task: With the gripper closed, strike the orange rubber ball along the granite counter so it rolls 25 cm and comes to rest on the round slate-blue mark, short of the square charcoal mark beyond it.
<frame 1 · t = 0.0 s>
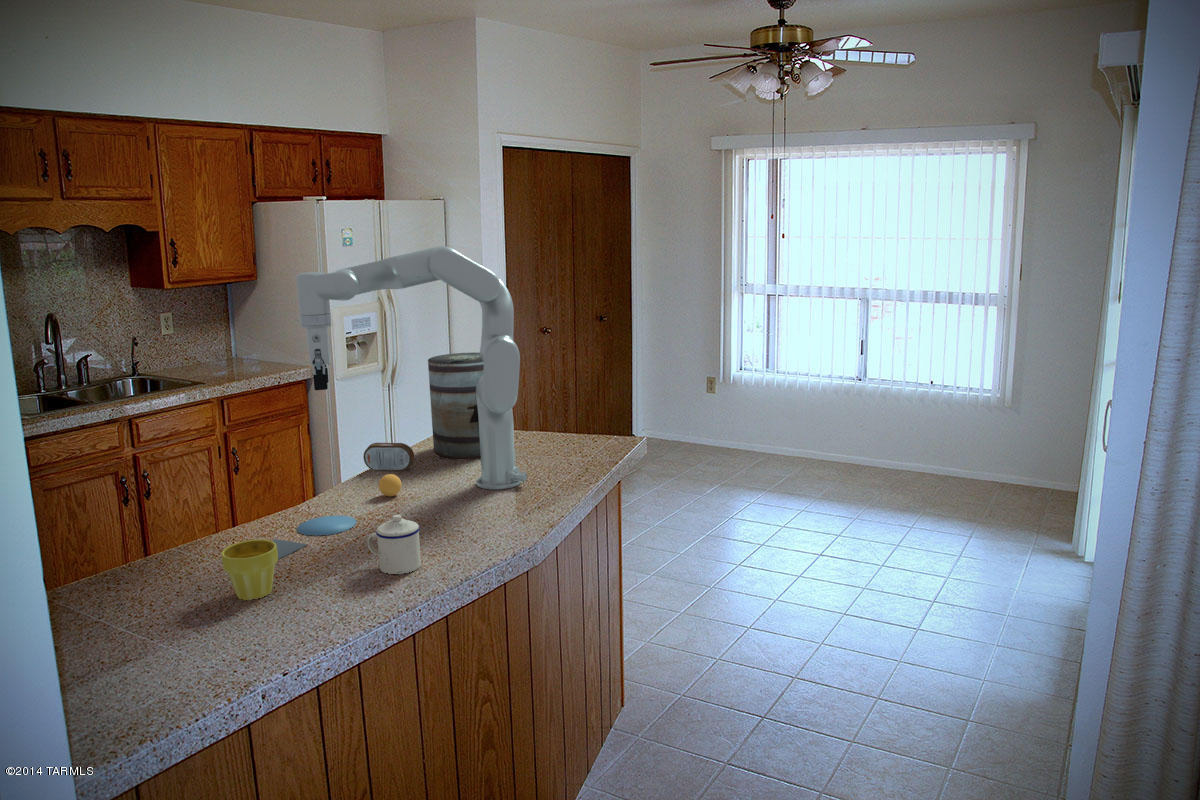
hand: (321, 386, 230), 31 cm above the worktop, tool pointing down, fingers open, 9 cm apart
teacup with lid: (394, 567, 190), on the worktop
tin: (389, 471, 263), on the worktop
ball: (390, 485, 238), on the worktop
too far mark: (291, 542, 206), on the worktop
plant pot: (254, 594, 178), on the worktop
barrel: (469, 450, 284), on the worktop
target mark: (327, 525, 217), on the worktop
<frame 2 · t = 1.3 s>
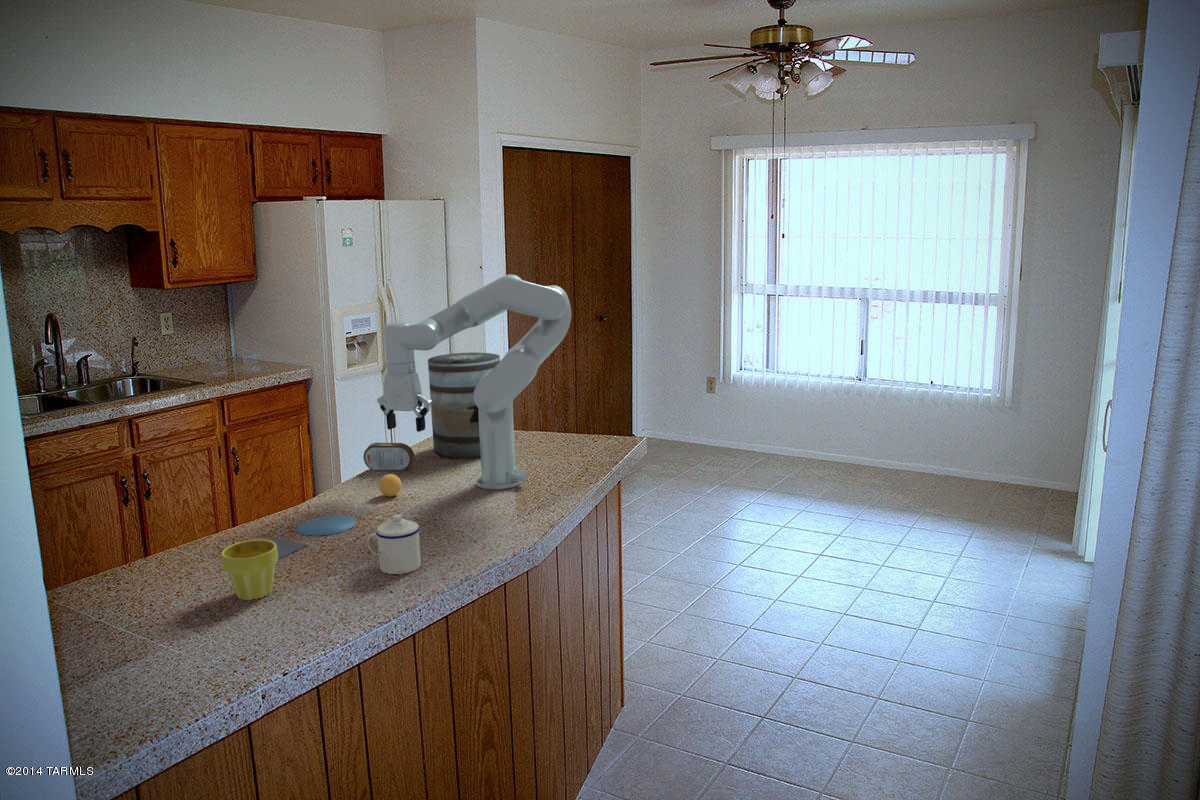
hand: (406, 429, 244), 16 cm above the worktop, tool pointing down, fingers open, 9 cm apart
nothing on the worktop moved.
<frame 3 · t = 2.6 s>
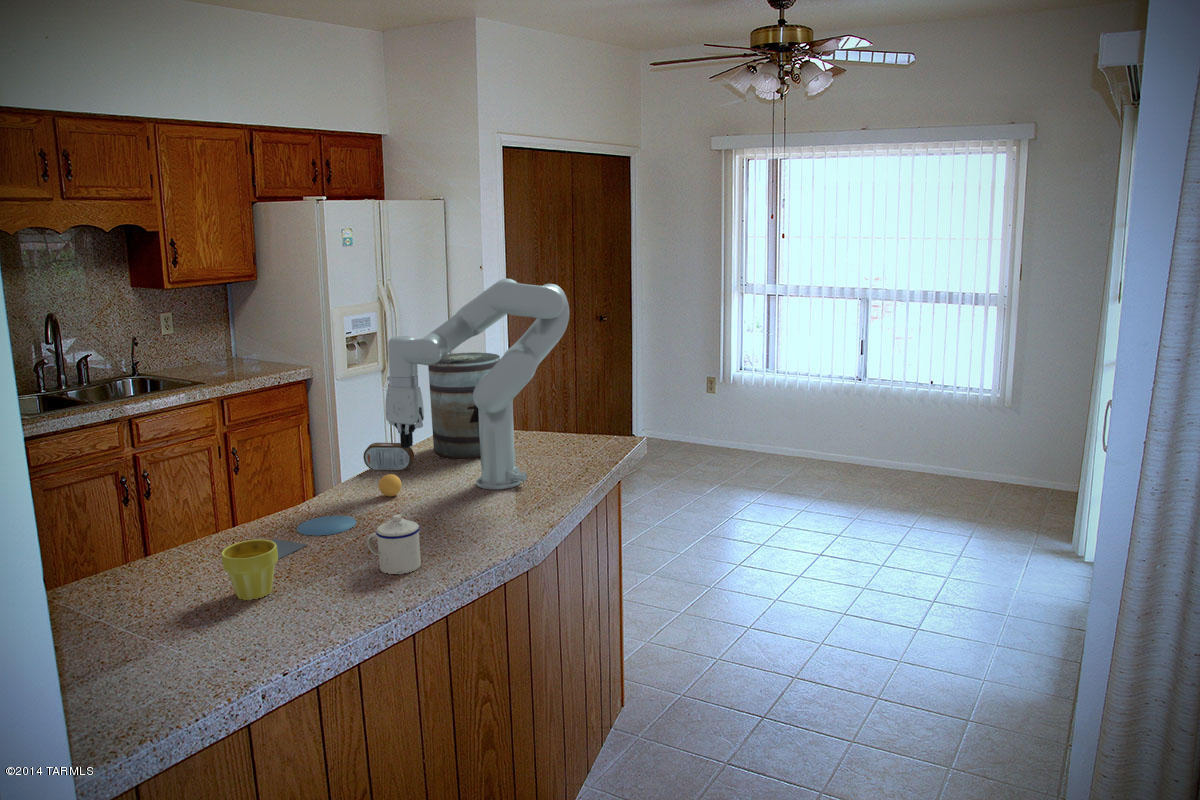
hand: (406, 446, 245), 11 cm above the worktop, tool pointing down, fingers closed
nothing on the worktop moved.
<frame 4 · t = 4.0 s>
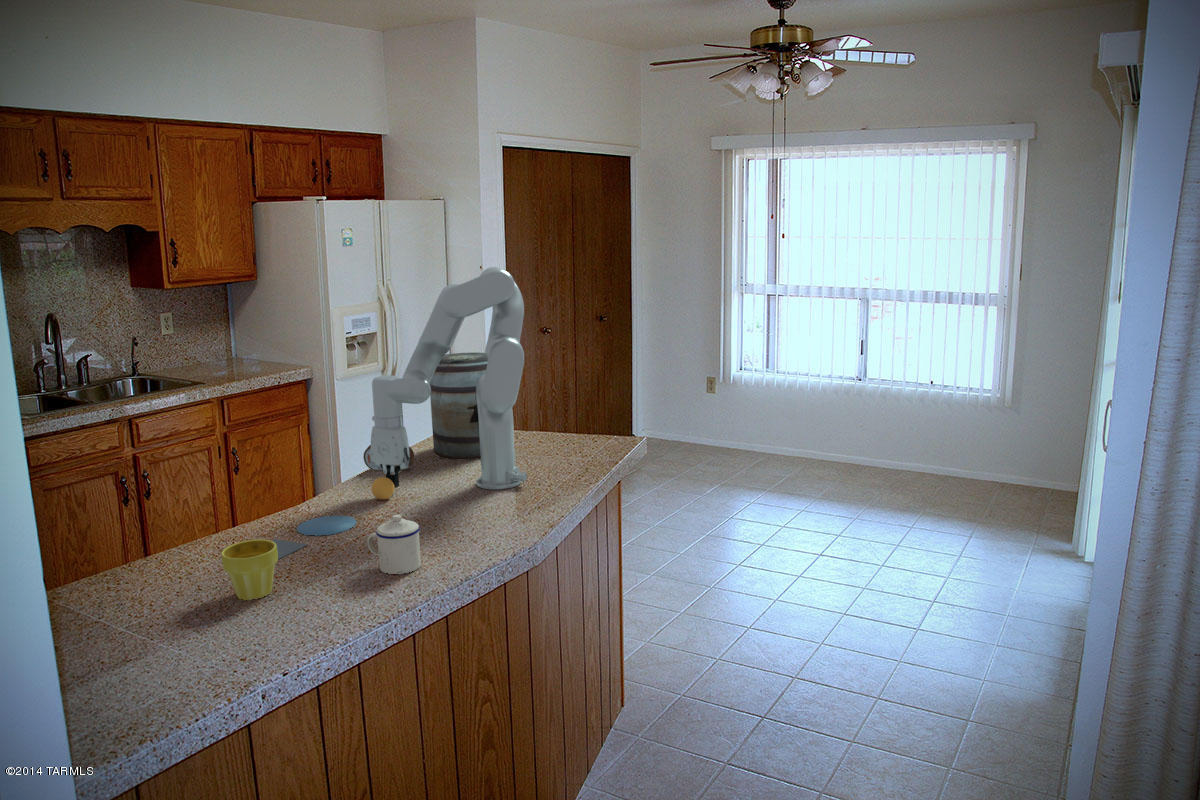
hand: (393, 487, 240), 2 cm above the worktop, tool pointing down, fingers closed
ball: (382, 488, 236), on the worktop
everything else where it was.
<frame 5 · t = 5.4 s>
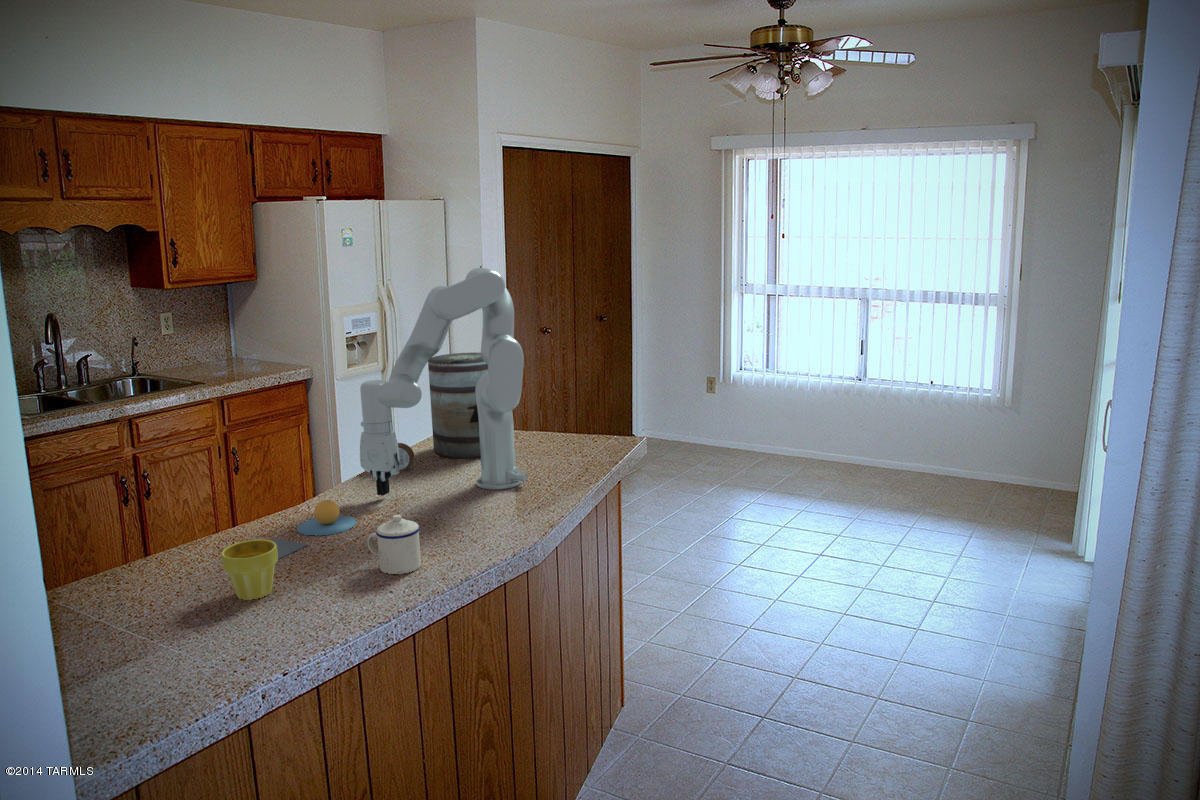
hand: (383, 493, 236), 2 cm above the worktop, tool pointing down, fingers closed
ball: (326, 512, 218), on the worktop
everything else where it was.
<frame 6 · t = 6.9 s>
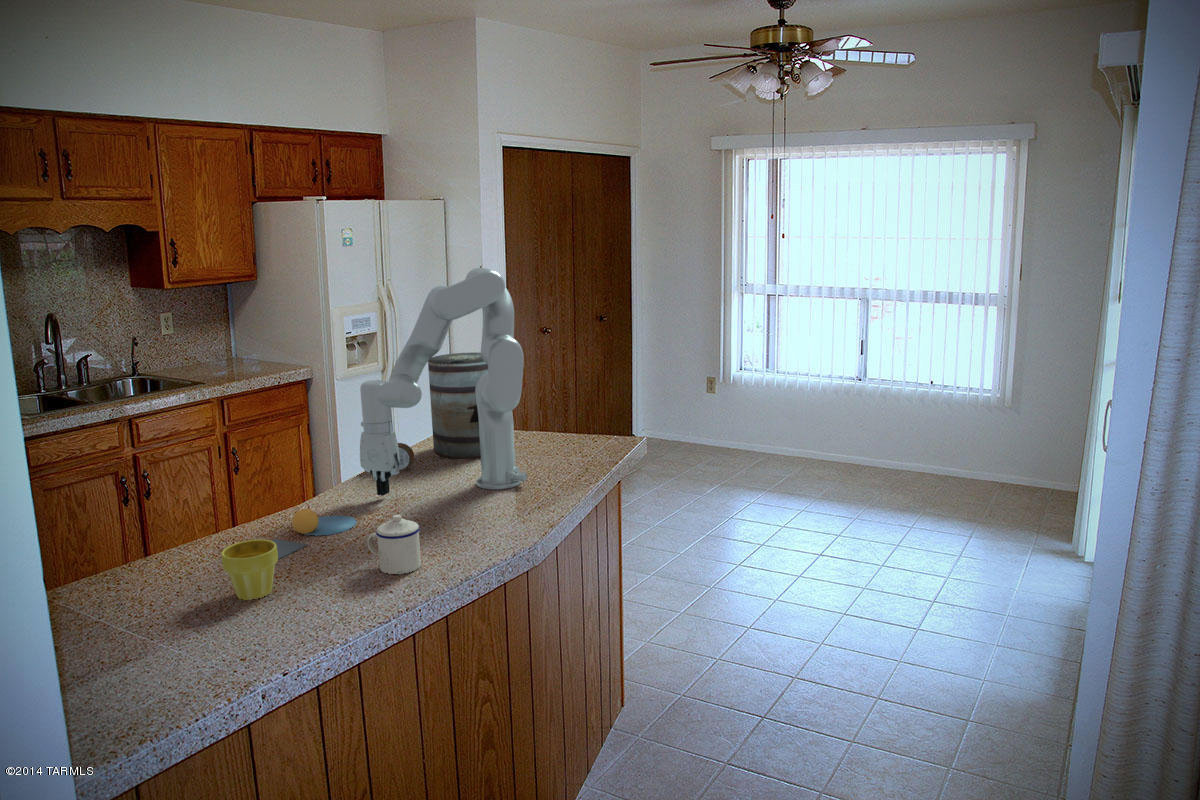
hand: (383, 493, 236), 2 cm above the worktop, tool pointing down, fingers closed
ball: (305, 521, 211), on the worktop
everything else where it was.
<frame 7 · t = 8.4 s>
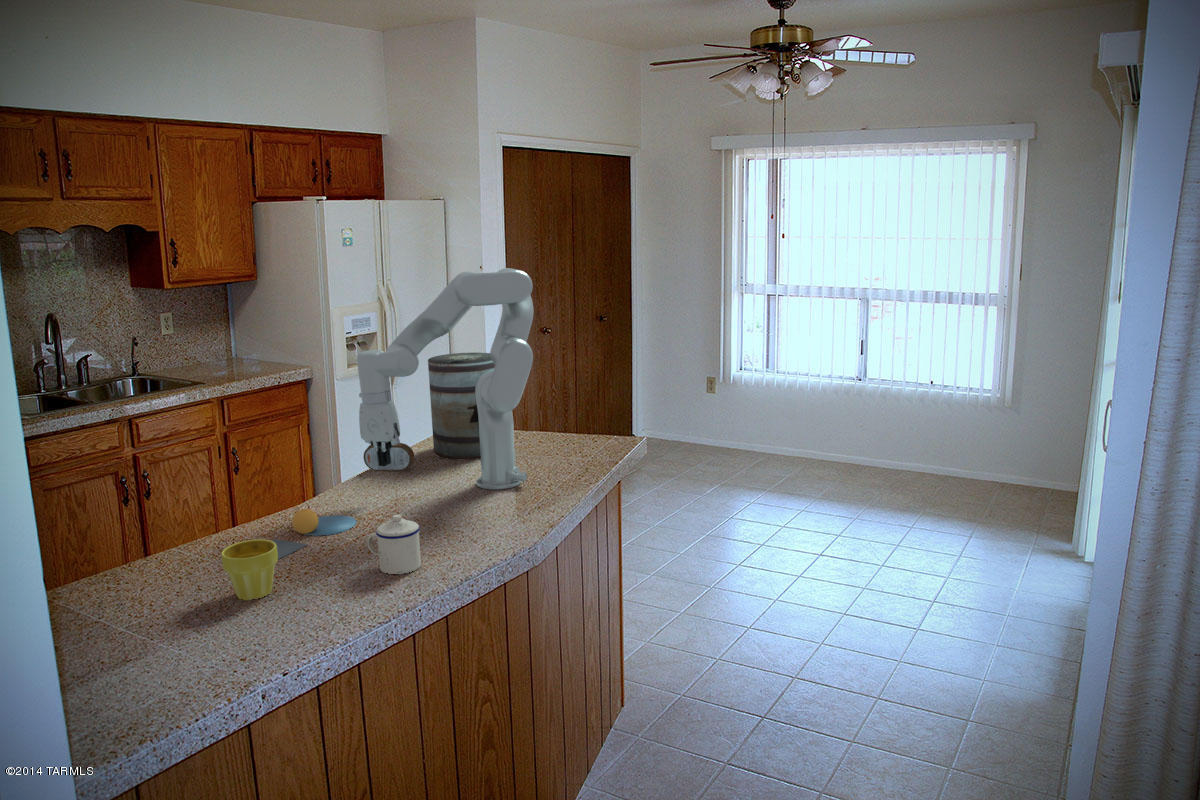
hand: (385, 464, 235), 9 cm above the worktop, tool pointing down, fingers closed
nothing on the worktop moved.
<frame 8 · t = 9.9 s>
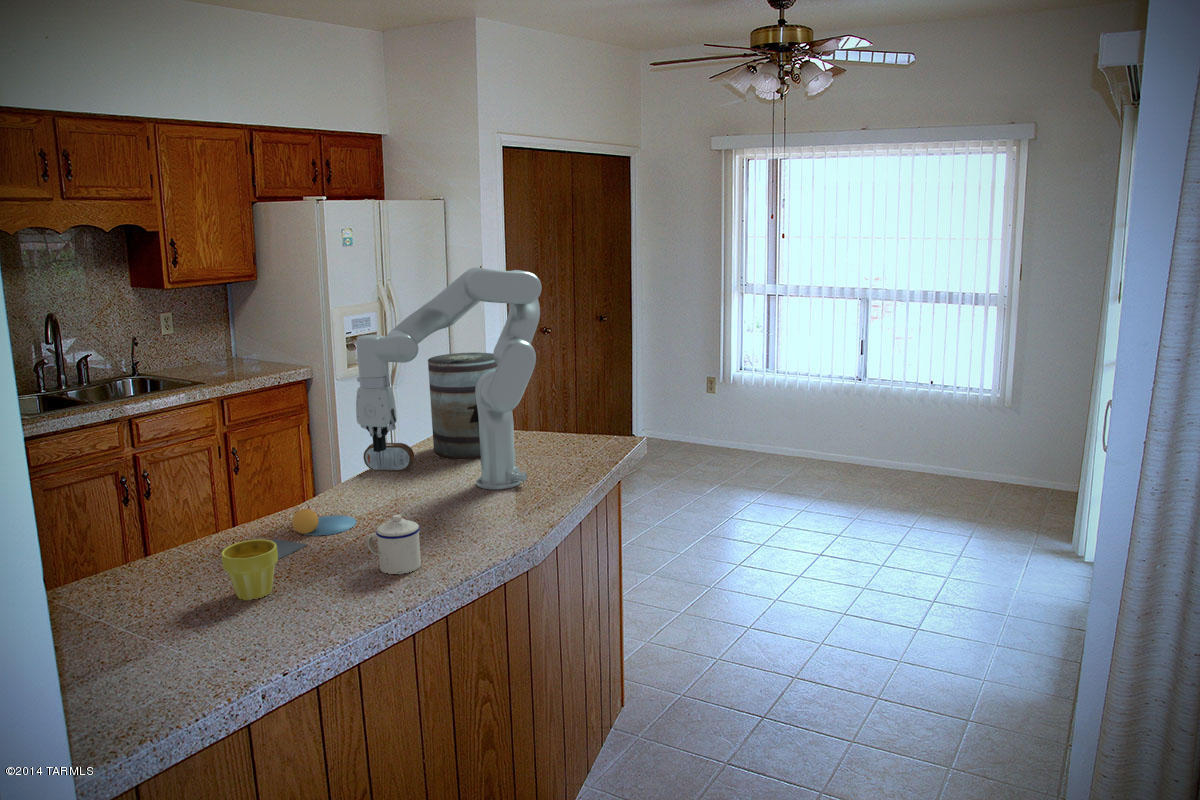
hand: (380, 450, 233), 13 cm above the worktop, tool pointing down, fingers closed
nothing on the worktop moved.
at the end: ball 6.0 cm from the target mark (horizontally); ball at rest at the end (0.0 cm/s); ball moved 30.9 cm from its start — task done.
